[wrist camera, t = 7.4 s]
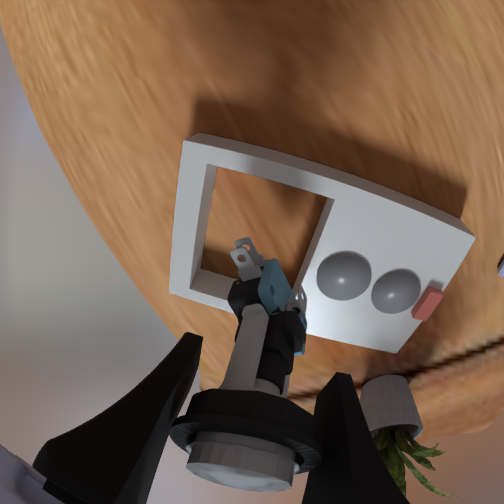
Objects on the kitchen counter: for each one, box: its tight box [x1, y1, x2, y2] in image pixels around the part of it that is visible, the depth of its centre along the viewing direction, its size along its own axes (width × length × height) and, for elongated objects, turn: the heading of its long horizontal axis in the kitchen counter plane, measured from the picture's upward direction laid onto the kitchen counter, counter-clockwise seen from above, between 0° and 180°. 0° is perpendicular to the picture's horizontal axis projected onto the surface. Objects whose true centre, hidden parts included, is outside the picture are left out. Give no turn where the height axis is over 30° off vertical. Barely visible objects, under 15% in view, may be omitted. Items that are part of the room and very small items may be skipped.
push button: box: [169, 237, 323, 492], centre depth 11 cm, size 7×5×10 cm
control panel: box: [169, 133, 476, 353], centre depth 18 cm, size 18×11×3 cm, turn 77°
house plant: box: [360, 375, 456, 497], centre depth 20 cm, size 14×14×16 cm
